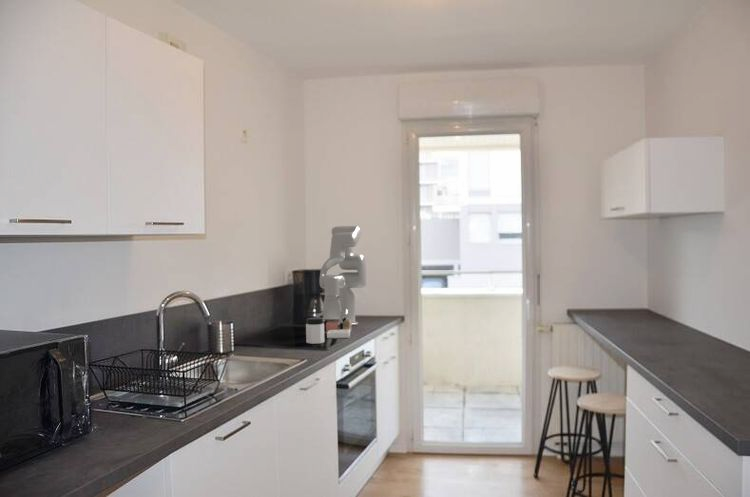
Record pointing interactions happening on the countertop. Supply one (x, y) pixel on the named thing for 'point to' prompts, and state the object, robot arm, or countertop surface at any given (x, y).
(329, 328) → the red block small bore
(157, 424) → the countertop surface
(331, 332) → the tray
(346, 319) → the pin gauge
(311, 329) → the jar
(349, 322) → the beech block wide bore
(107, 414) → the countertop surface
